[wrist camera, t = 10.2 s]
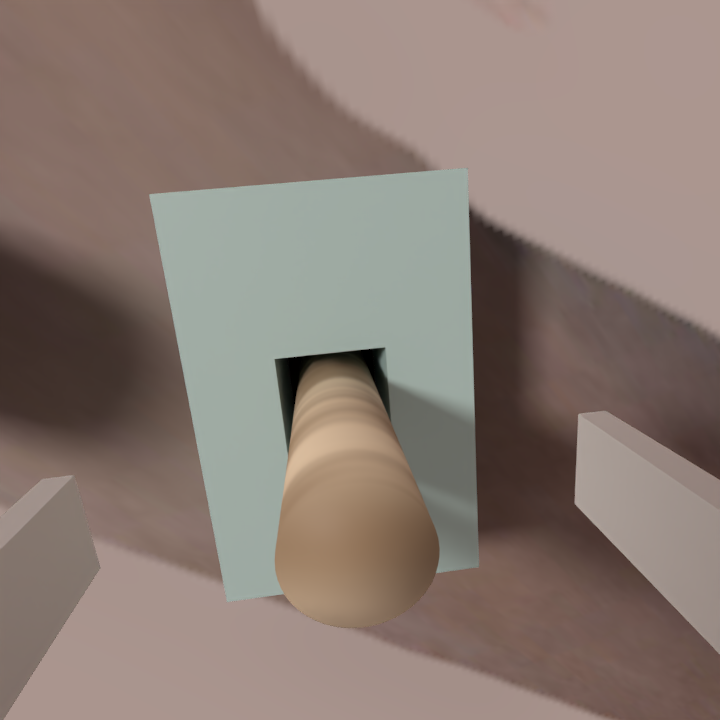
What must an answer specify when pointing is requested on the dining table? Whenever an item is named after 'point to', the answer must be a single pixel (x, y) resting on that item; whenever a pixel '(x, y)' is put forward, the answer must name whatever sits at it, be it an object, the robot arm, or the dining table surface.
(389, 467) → the peg
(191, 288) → the socket block
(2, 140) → the dining table surface
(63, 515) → the robot arm
